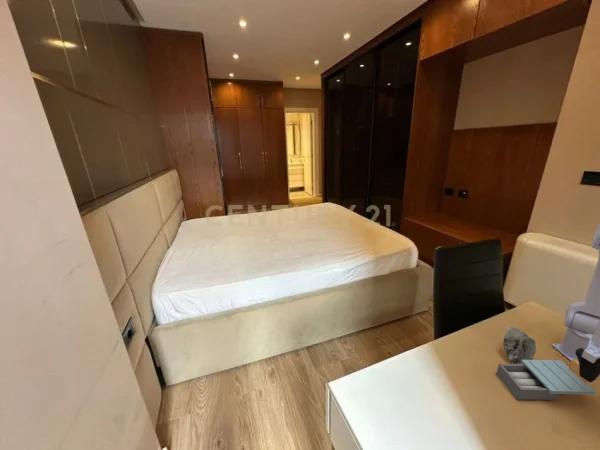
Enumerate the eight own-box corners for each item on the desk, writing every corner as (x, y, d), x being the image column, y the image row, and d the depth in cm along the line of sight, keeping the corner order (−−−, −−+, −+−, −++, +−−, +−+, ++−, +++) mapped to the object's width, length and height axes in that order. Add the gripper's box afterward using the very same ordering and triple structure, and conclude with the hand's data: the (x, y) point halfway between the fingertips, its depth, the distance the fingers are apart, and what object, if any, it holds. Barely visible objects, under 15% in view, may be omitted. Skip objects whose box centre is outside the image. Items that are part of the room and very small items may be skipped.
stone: (540, 341, 72) (512, 318, 81) (508, 358, 74) (485, 333, 84) (553, 359, 74) (524, 334, 84) (522, 375, 77) (497, 349, 86)
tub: (530, 374, 73) (534, 364, 72) (556, 401, 65) (560, 390, 64) (496, 373, 73) (499, 363, 72) (517, 400, 66) (521, 389, 65)
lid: (562, 363, 72) (567, 351, 71) (598, 394, 63) (604, 382, 61) (520, 362, 73) (524, 350, 71) (550, 393, 64) (555, 381, 62)
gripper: (611, 313, 62) (592, 354, 67) (573, 326, 59) (556, 368, 63) (655, 333, 56) (631, 377, 60) (616, 348, 52) (593, 394, 57)
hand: (595, 374), depth 61 cm, fingers open, 7 cm apart
